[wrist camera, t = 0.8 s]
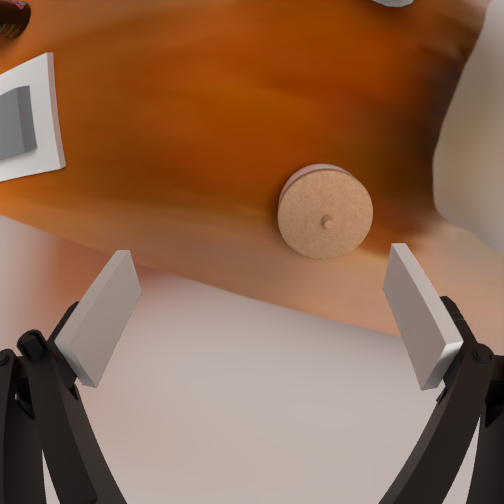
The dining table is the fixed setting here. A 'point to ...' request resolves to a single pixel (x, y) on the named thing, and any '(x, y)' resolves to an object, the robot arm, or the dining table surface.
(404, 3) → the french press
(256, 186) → the dining table surface
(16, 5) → the supplement container
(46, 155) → the build base
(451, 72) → the dining table surface
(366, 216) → the lidded jar
